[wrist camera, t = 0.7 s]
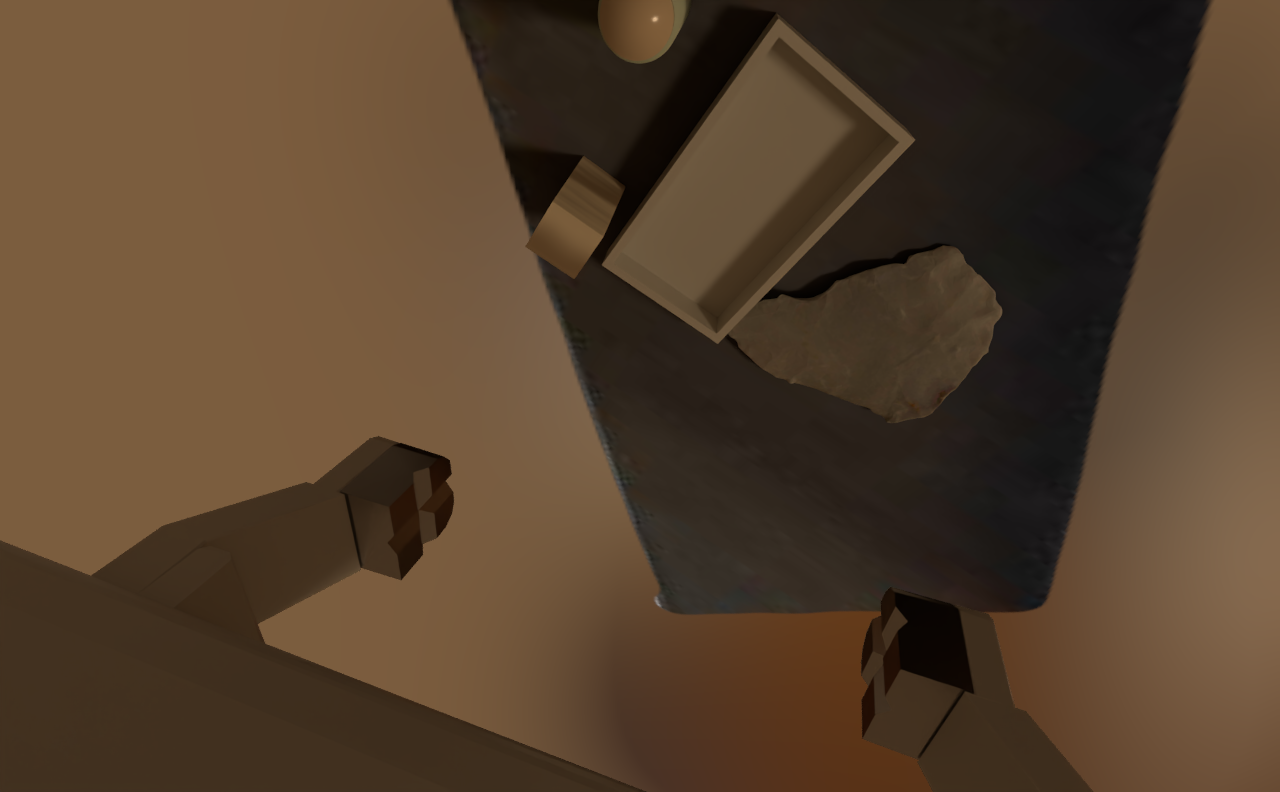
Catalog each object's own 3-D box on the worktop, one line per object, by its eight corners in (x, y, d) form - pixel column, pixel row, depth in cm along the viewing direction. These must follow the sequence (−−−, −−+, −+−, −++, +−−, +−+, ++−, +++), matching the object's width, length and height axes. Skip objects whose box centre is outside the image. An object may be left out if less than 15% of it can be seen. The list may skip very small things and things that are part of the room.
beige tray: (776, 12, 44) (778, 18, 42) (905, 127, 48) (915, 140, 45) (608, 248, 58) (601, 265, 55) (718, 325, 61) (717, 343, 59)
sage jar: (650, -61, 43) (624, -55, 33) (705, -12, 44) (695, 6, 35) (612, 8, 46) (579, 30, 36) (666, 51, 47) (646, 84, 38)
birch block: (583, 155, 53) (552, 201, 44) (625, 186, 54) (603, 236, 45) (559, 196, 55) (525, 246, 47) (599, 224, 56) (574, 278, 48)
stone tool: (1018, 244, 54) (738, 226, 55) (1035, 259, 51) (740, 240, 52) (946, 415, 65) (716, 396, 67) (957, 435, 62) (716, 415, 64)
